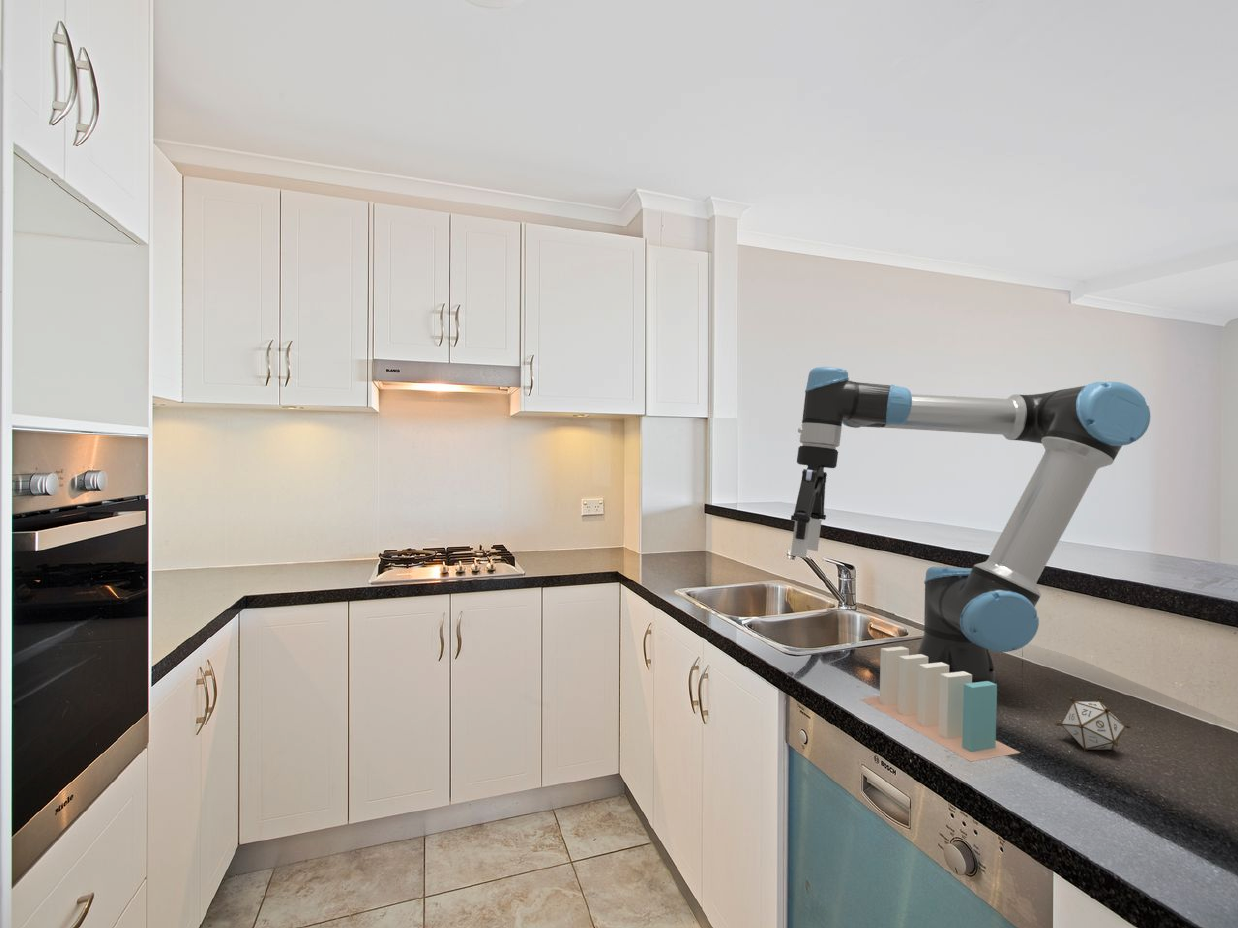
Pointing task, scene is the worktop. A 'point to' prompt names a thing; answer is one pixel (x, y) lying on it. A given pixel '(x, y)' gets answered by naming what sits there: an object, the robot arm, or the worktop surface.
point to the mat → (933, 734)
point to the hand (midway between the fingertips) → (804, 553)
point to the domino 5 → (979, 716)
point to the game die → (1093, 725)
